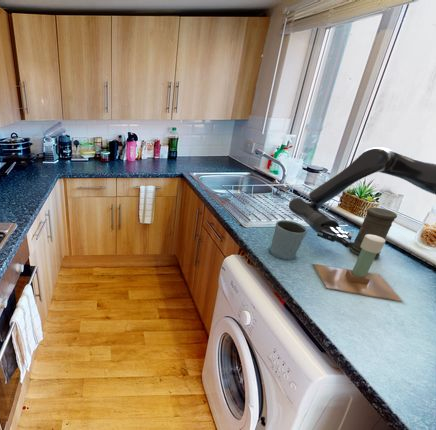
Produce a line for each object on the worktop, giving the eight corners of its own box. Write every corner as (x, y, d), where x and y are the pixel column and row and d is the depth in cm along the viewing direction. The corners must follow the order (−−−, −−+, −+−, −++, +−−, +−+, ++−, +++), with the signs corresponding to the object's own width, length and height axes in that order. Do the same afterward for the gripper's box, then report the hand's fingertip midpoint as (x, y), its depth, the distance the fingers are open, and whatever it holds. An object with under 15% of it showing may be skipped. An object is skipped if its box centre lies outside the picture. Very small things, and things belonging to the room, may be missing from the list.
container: (381, 254, 112) (402, 213, 104) (373, 262, 107) (394, 218, 99) (354, 245, 118) (371, 204, 111) (345, 251, 114) (362, 209, 106)
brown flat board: (378, 275, 99) (378, 274, 99) (401, 302, 87) (402, 300, 87) (313, 265, 104) (313, 263, 104) (326, 288, 92) (327, 287, 92)
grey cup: (270, 244, 117) (278, 218, 112) (298, 252, 112) (308, 225, 107) (266, 255, 110) (274, 227, 105) (296, 264, 105) (306, 235, 100)
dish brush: (361, 276, 98) (380, 235, 91) (368, 285, 93) (389, 243, 87) (344, 273, 99) (362, 233, 92) (350, 282, 95) (369, 240, 88)
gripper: (307, 214, 114) (334, 235, 98) (342, 216, 113) (374, 237, 97) (302, 231, 117) (326, 253, 101) (336, 232, 116) (366, 256, 101)
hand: (350, 245), depth 99 cm, fingers closed
